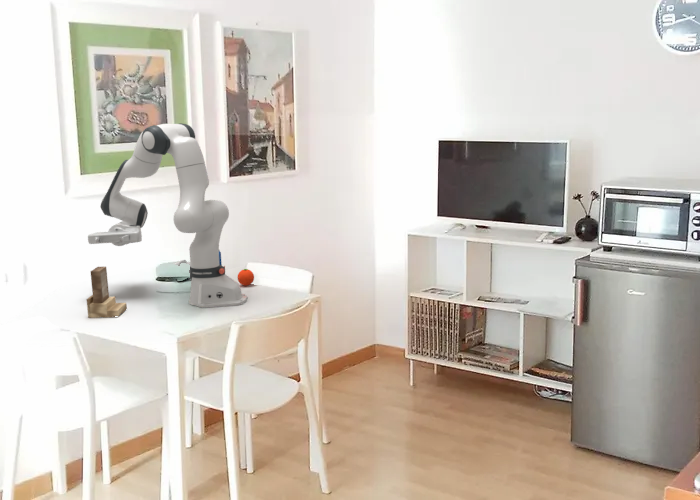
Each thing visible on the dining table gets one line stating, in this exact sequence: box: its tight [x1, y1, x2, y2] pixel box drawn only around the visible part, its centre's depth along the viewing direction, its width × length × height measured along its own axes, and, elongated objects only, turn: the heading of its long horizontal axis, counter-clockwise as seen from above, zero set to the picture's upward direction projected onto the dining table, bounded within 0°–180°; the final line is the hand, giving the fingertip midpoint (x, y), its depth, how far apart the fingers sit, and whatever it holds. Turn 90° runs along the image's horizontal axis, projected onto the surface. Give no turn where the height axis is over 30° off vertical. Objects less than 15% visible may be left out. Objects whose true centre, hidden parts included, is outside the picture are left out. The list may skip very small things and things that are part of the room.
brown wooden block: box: [90, 266, 110, 303], centre depth 294 cm, size 3×8×12 cm, turn 179°
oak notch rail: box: [86, 294, 128, 319], centre depth 296 cm, size 11×11×7 cm
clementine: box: [237, 268, 255, 287], centre depth 334 cm, size 8×7×7 cm
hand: (109, 240), depth 306 cm, fingers open, 8 cm apart
